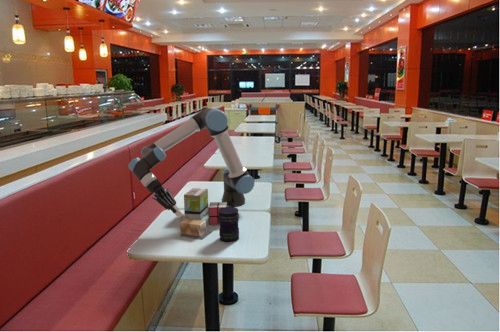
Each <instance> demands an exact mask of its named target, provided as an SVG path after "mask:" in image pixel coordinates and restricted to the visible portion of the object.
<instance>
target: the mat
mask: <svg viewBox="0 0 500 332" xmlns="http://www.w3.org/2000/svg"><path fill="white" fill-rule="evenodd" d="M206 230H207V232H206V233H205V234H203V235H202V236H195V235H188V234H181V233H180V234H179V237H183V238H190V239H196V240H203V239H205V238H206V237H208V236H209V235H211V233H212V232H213V230H210V229H209V230H208V229H206Z"/></svg>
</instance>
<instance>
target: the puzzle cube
mask: <svg viewBox="0 0 500 332" xmlns="http://www.w3.org/2000/svg"><path fill="white" fill-rule="evenodd" d="M225 207H229V206H228V202H222V201H219V202H217V201H215V202H213V201H211V202H210V201H209V204H208V225H210V226H215V225H217V226H220V222H219V209H221V208H225Z"/></svg>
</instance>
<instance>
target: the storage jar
mask: <svg viewBox="0 0 500 332" xmlns="http://www.w3.org/2000/svg"><path fill="white" fill-rule="evenodd" d="M239 217H240V216H239V209H238V208H237V207H235V206H228V207H225V208H221V209H219V222H220V225H219V235H218V236H219V240H220V241H221V242H222V243H228V244H229V243H235V242H237V241H239V240H240V227H239V220H240V218H239Z"/></svg>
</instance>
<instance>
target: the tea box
mask: <svg viewBox="0 0 500 332" xmlns="http://www.w3.org/2000/svg"><path fill="white" fill-rule="evenodd" d="M183 205H184V206H183V209H184V219H193V220H201V221H202V219H203V218H204V217H205V216H206V215H207V213H208V214H209V210H208V208H209V189H208V188H201V187H200V188H197V187H192V188H191V189H190V190H188V191H187V192H186V193H184V194H183Z"/></svg>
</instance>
